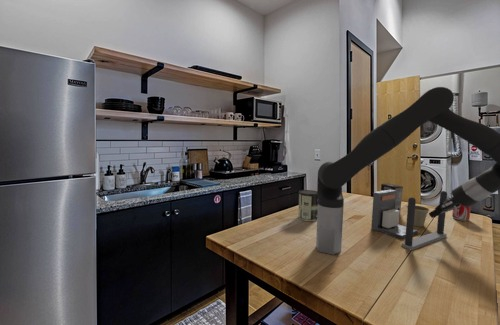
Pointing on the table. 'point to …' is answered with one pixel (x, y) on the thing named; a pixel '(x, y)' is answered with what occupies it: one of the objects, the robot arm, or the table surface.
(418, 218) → the flower pot
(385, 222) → the block
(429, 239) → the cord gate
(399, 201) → the coffee box
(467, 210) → the soda can
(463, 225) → the table surface
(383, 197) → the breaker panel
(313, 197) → the coffee can
